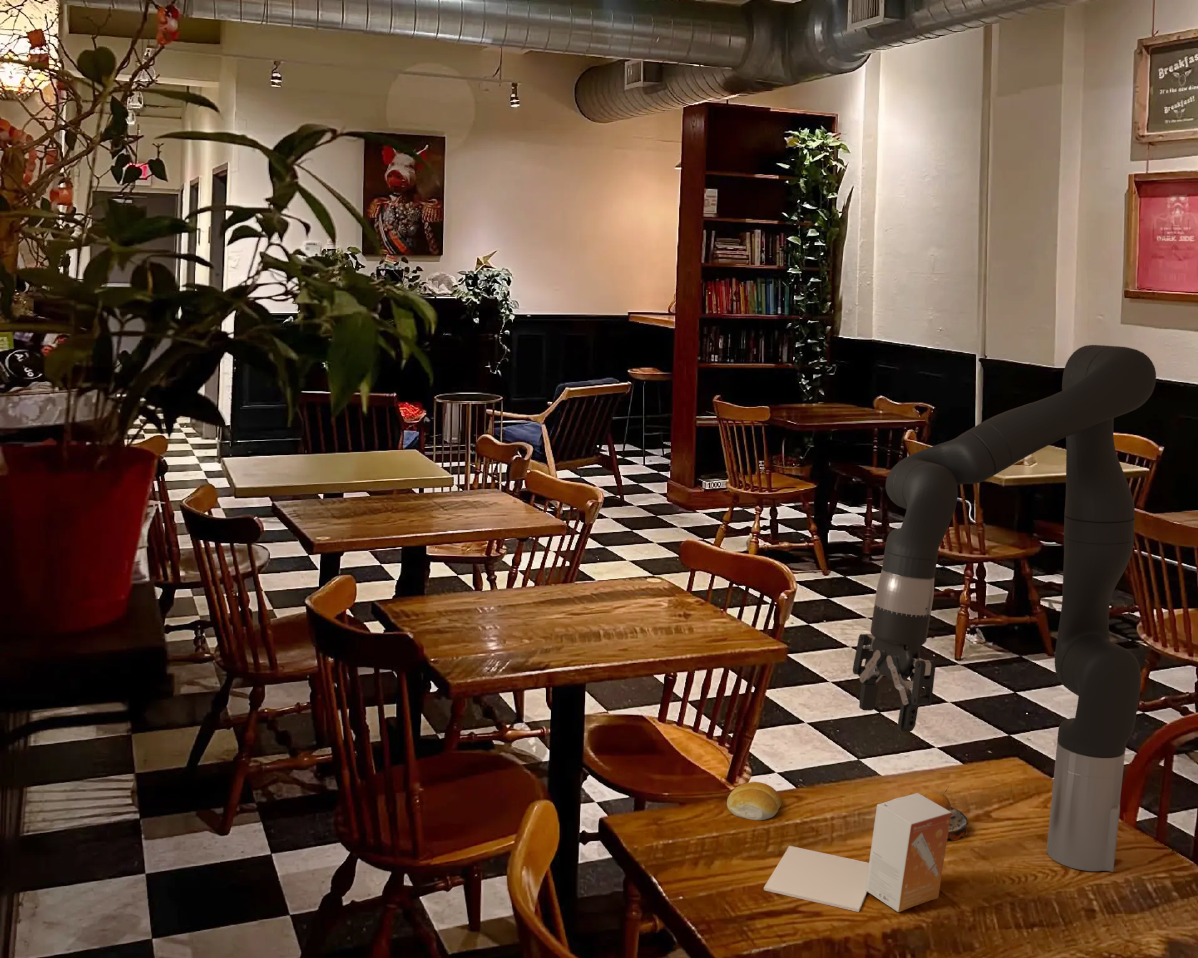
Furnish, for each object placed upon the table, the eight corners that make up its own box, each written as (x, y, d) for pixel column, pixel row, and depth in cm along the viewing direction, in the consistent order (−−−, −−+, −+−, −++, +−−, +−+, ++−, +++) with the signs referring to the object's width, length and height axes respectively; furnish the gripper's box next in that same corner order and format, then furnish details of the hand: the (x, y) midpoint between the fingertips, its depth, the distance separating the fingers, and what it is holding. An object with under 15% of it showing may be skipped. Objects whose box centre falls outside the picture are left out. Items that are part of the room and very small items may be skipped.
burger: (927, 804, 194) (930, 761, 193) (984, 833, 184) (988, 787, 183) (872, 819, 188) (876, 774, 186) (928, 850, 178) (932, 802, 177)
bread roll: (784, 802, 193) (785, 779, 192) (773, 825, 184) (774, 800, 184) (734, 794, 195) (735, 770, 195) (721, 815, 187) (722, 791, 186)
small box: (898, 913, 158) (911, 824, 155) (863, 890, 163) (875, 803, 161) (940, 898, 163) (952, 811, 160) (904, 876, 168) (916, 791, 165)
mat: (877, 867, 171) (878, 864, 171) (858, 911, 158) (858, 909, 158) (789, 848, 176) (789, 845, 176) (763, 889, 163) (763, 887, 163)
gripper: (959, 619, 157) (940, 737, 159) (892, 593, 170) (875, 702, 172) (914, 619, 154) (895, 739, 156) (849, 592, 167) (832, 703, 169)
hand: (885, 719), depth 164 cm, fingers open, 8 cm apart
